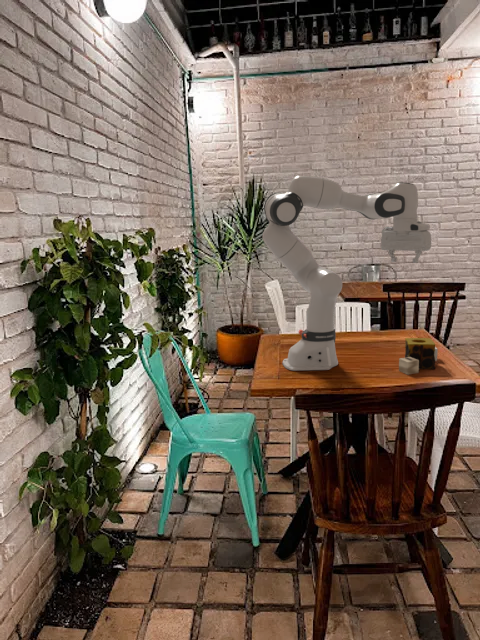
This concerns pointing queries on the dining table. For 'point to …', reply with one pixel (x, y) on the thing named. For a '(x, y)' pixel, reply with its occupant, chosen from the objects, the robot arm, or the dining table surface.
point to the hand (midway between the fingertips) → (404, 262)
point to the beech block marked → (408, 365)
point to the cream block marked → (436, 353)
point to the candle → (421, 351)
